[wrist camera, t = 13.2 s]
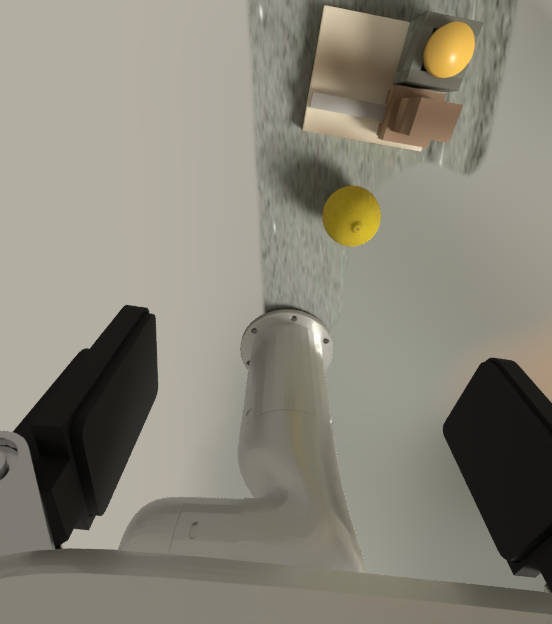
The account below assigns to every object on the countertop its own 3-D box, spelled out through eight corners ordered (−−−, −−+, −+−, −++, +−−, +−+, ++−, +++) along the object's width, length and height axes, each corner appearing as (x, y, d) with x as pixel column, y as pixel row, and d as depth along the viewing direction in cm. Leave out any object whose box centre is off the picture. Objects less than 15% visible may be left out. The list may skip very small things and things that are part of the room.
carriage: (416, 144, 32) (450, 155, 25) (375, 137, 32) (398, 146, 25) (433, 94, 30) (475, 93, 23) (389, 86, 30) (419, 82, 23)
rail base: (415, 149, 34) (436, 156, 29) (302, 129, 33) (304, 133, 29) (454, 35, 29) (486, 22, 25) (323, 9, 29) (330, -9, 24)
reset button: (437, 84, 30) (462, 81, 25) (401, 77, 29) (421, 73, 25) (453, 37, 28) (482, 26, 24) (415, 30, 28) (438, 17, 24)
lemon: (309, 200, 37) (314, 222, 30) (354, 167, 35) (370, 183, 28) (336, 240, 39) (347, 269, 32) (380, 210, 37) (401, 235, 30)
